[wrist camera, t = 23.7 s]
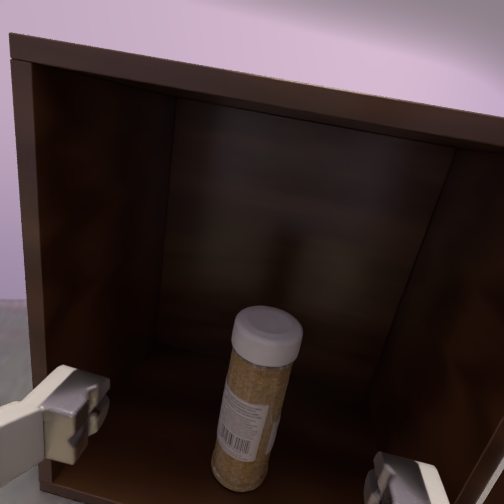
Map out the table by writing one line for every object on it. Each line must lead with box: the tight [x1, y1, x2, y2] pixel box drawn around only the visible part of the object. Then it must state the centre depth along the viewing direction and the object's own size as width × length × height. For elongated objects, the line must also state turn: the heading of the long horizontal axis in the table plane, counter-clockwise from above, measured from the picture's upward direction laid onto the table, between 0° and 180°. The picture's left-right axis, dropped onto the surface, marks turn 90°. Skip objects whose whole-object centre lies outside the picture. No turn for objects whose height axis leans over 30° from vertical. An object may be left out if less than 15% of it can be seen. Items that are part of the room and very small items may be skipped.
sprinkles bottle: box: [211, 306, 303, 492], centre depth 25 cm, size 5×5×13 cm
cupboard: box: [9, 33, 504, 504], centre depth 27 cm, size 18×26×28 cm
